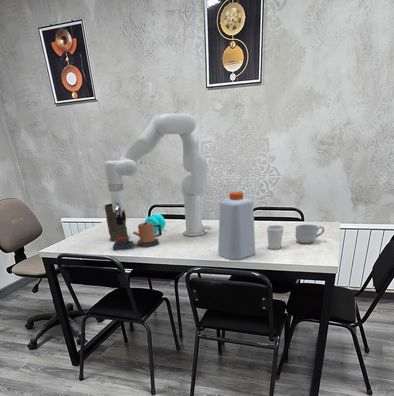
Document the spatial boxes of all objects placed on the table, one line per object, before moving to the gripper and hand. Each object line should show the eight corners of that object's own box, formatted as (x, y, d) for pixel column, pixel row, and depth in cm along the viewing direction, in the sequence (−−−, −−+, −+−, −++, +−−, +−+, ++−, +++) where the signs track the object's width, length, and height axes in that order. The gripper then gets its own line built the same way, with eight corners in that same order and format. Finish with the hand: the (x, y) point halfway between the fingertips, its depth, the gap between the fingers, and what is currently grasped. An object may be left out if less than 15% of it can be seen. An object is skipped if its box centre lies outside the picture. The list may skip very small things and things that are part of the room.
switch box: (133, 244, 192) (132, 237, 190) (132, 248, 185) (131, 241, 183) (115, 246, 192) (114, 239, 190) (113, 250, 185) (112, 243, 183)
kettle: (158, 235, 197) (156, 218, 192) (165, 238, 191) (163, 221, 186) (131, 242, 189) (128, 224, 184) (138, 245, 183) (135, 227, 178)
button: (126, 239, 188) (125, 236, 187) (125, 241, 185) (125, 238, 184) (119, 240, 188) (118, 237, 187) (118, 242, 185) (117, 239, 184)
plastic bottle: (214, 254, 168) (212, 193, 154) (238, 247, 175) (238, 188, 161) (234, 261, 158) (234, 197, 143) (258, 254, 165) (260, 191, 150)
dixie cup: (282, 244, 174) (284, 224, 169) (282, 250, 167) (284, 229, 162) (266, 244, 176) (266, 225, 171) (265, 250, 169) (266, 229, 164)
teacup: (293, 244, 174) (294, 228, 170) (295, 238, 182) (297, 223, 178) (322, 245, 169) (324, 229, 165) (323, 239, 178) (325, 223, 174)
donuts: (167, 230, 214) (165, 213, 209) (158, 234, 207) (156, 217, 202) (153, 229, 218) (151, 212, 213) (144, 233, 211) (142, 216, 206)
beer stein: (124, 241, 198) (118, 205, 188) (106, 241, 200) (100, 205, 191) (133, 236, 211) (129, 201, 202) (117, 236, 213) (112, 202, 204)
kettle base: (158, 240, 196) (158, 237, 195) (158, 246, 186) (158, 243, 185) (138, 242, 195) (137, 239, 194) (137, 248, 185) (136, 245, 185)
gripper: (110, 185, 180) (116, 219, 189) (106, 190, 165) (112, 226, 174) (124, 185, 181) (129, 218, 189) (121, 189, 166) (127, 225, 175)
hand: (121, 222), depth 182 cm, fingers open, 9 cm apart
